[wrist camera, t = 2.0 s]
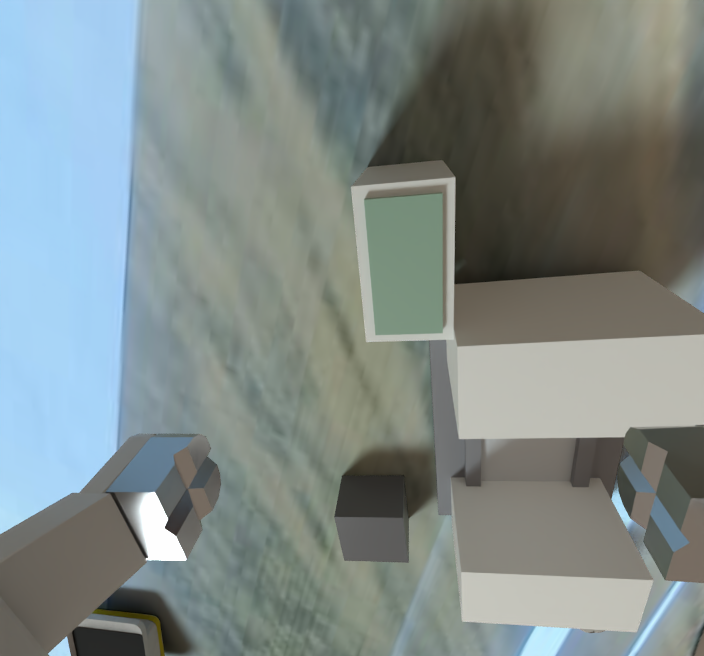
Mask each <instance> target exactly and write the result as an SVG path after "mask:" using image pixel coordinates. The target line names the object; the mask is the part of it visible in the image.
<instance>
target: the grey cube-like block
mask: <svg viewBox="0 0 704 656" xmlns="http://www.w3.org/2000/svg"><path fill="white" fill-rule="evenodd" d="M334 517H335V522H336V526H337V530H338V535H339V539H340V543H341V548H342V552H343V556H344V560H347V561H377V562H408V563H409V517H408V508H407V499H406V490H405V482H404V476H342V479H341V484H340V490H339V495H338V500H337V506H336V511H335V516H334Z"/></svg>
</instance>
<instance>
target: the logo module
mask: <svg viewBox="0 0 704 656" xmlns="http://www.w3.org/2000/svg"><path fill="white" fill-rule="evenodd" d="M351 191H352V201H353V212H354V222H355V232H356V243H357V253H358V263H359V273H360V284H361V294H362V304H363V314H364V325H365V335H366V342H382V341H419V340H453V338H454V256H455V176H454V175H453V173H452V172H451V171H450V169H449V168H448V167H447V165H446V164H445V163H444V161H443V160H437V161H426V162H416V163H405V164H395V165H384V166H374V167H367V168H366V169H365V170H364V172H363V173H362V174H361V175H360V176H359V178H358V179H357V180H356V181H355V182H354V184H353V185H352V186H351Z"/></svg>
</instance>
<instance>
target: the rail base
mask: <svg viewBox="0 0 704 656" xmlns="http://www.w3.org/2000/svg"><path fill="white" fill-rule="evenodd" d="M429 347H430V366H431V385H432V404H433V423H434V442H435V462H436V481H437V499H438V513H439V515H452V528H453V537H454V547H455V557H456V567H457V576H458V586H459V596H460V605H461V615H462V621H464V622H480V623H496V624H512V625H528V626H544V627H560V628H576V629H592V630H608V631H624V632H637V630H638V627H639V624H640V621H641V618H642V615H643V612H644V608H645V605H646V602H647V599H648V596H649V593H650V590H651V587H652V584H653V578H652V576H651V574H650V572H649V571H648V569H647V567H646V565H645V563H644V561H643V559H642V557H641V555H640V553H639V552H638V550H637V548H636V546H635V544H634V542H633V540H632V538H631V536H630V534H629V532H628V531H627V529H626V527H625V525H624V523H623V521H622V519H621V517H620V515H619V513H618V512H617V510H616V508H615V506H614V504H613V502H612V500H611V498H612V494H613V489H614V484H615V480H616V475H617V471H618V466H619V461H620V457H621V452H622V447H623V443H624V438H625V434H626V432H627V431H628V429H629V428H630V427H653V426H695V425H704V313H702V312H701V311H700V310H698V309H697V308H695V307H694V306H692V305H691V304H689V303H688V302H686V301H685V300H683V299H682V298H680V297H679V296H677V295H676V294H674V293H673V292H671V291H670V290H668V289H667V288H665V287H664V286H662V285H661V284H659V283H658V282H656V281H655V280H653V279H652V278H650V277H649V276H647V275H646V274H644V273H643V272H641V271H627V272H613V273H600V274H587V275H573V276H560V277H546V278H533V279H520V280H506V281H493V282H480V283H466V284H454V338H453V340H429Z"/></svg>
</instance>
